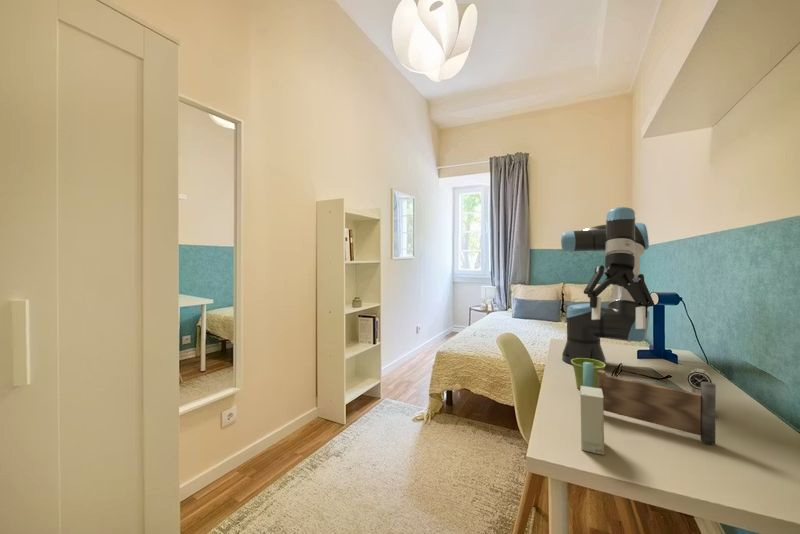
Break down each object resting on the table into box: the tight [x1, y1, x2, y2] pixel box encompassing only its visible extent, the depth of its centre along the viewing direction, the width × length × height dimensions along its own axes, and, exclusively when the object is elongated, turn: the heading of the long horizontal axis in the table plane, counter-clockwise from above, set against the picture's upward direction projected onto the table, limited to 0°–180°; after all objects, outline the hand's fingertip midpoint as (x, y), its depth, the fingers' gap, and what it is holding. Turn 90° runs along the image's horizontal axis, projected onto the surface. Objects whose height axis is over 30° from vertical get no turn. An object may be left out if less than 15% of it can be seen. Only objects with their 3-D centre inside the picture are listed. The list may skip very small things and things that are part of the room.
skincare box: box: [579, 386, 605, 456], centre depth 71 cm, size 6×4×12 cm
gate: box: [597, 370, 717, 446], centre depth 78 cm, size 22×2×13 cm, turn 48°
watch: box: [686, 367, 715, 394], centre depth 87 cm, size 6×8×11 cm
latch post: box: [583, 362, 593, 387], centre depth 87 cm, size 2×2×13 cm
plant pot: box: [571, 358, 606, 390], centre depth 102 cm, size 9×9×9 cm
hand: (618, 324), depth 94 cm, fingers open, 13 cm apart
